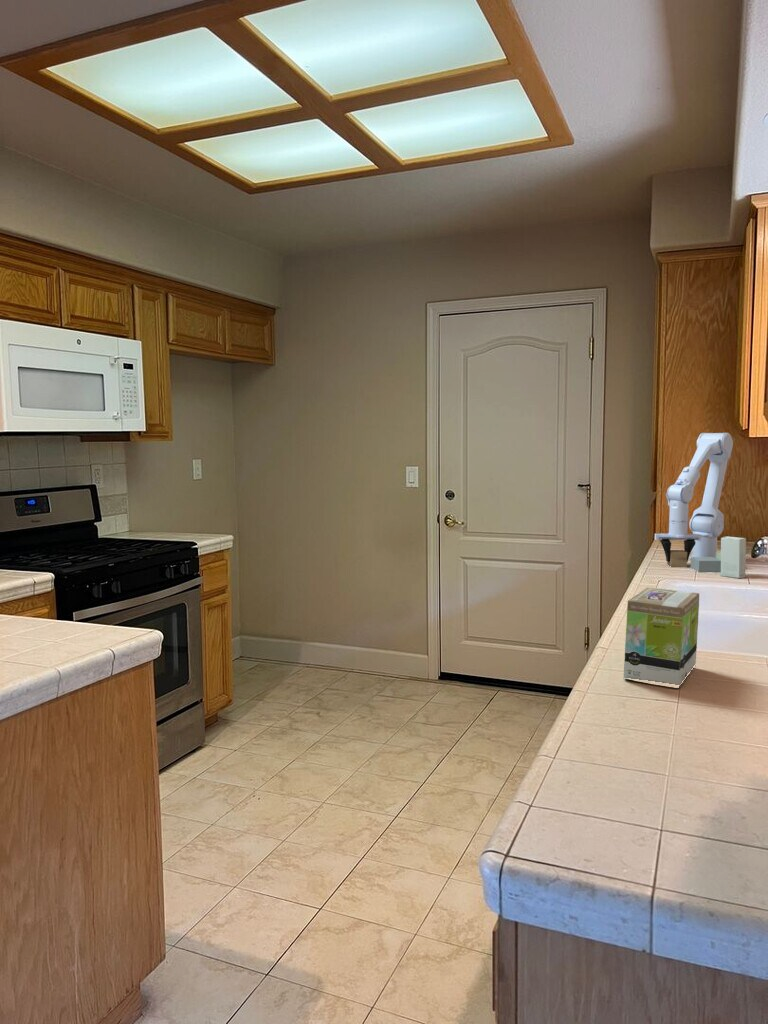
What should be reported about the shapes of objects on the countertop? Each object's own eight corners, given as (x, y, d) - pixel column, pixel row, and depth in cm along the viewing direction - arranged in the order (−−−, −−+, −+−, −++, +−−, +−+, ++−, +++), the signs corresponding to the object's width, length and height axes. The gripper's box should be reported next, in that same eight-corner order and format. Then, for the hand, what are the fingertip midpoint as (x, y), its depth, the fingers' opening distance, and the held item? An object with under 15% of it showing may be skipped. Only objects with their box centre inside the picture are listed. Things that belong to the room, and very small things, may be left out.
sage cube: (715, 567, 249) (715, 552, 248) (730, 567, 249) (730, 552, 249) (722, 569, 244) (723, 554, 243) (737, 569, 244) (738, 554, 244)
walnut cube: (667, 564, 253) (667, 549, 253) (682, 564, 253) (683, 550, 252) (670, 567, 249) (671, 552, 248) (686, 567, 248) (687, 552, 247)
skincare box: (745, 577, 231) (747, 537, 230) (738, 578, 228) (740, 539, 227) (726, 574, 236) (727, 535, 235) (719, 576, 233) (720, 537, 232)
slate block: (690, 569, 246) (690, 557, 246) (712, 569, 246) (712, 557, 245) (698, 573, 239) (699, 560, 239) (721, 573, 239) (721, 560, 238)
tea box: (681, 691, 130) (684, 606, 128) (622, 681, 135) (624, 599, 133) (697, 668, 142) (700, 590, 141) (642, 659, 148) (644, 585, 146)
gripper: (658, 522, 246) (657, 563, 247) (705, 522, 244) (703, 564, 246) (653, 519, 253) (652, 559, 254) (698, 520, 251) (697, 560, 253)
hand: (676, 561), depth 251 cm, fingers closed on walnut cube, 5 cm apart
